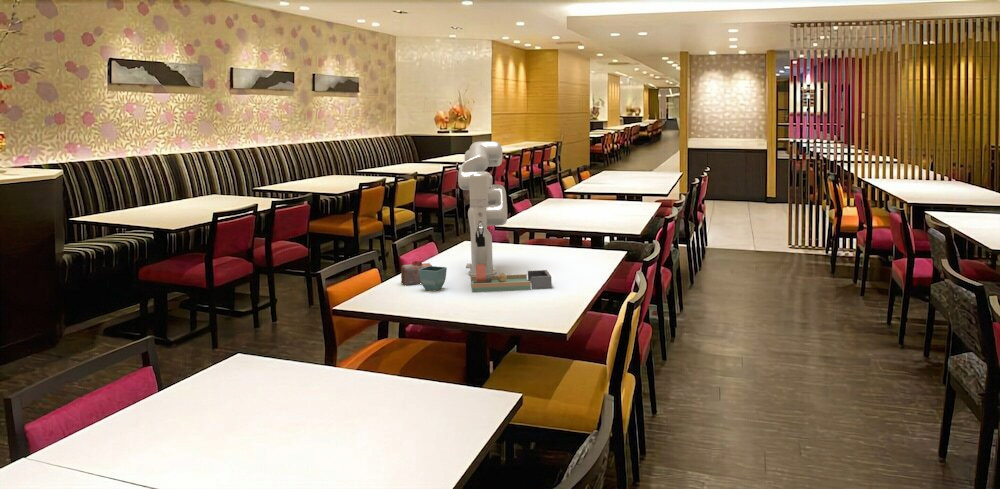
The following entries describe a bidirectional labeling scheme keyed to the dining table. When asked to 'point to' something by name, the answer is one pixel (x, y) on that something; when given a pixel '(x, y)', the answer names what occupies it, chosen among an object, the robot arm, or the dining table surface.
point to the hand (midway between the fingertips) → (480, 244)
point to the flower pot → (433, 277)
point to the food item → (412, 272)
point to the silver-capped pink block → (482, 274)
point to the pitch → (502, 284)
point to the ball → (502, 277)
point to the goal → (539, 279)
